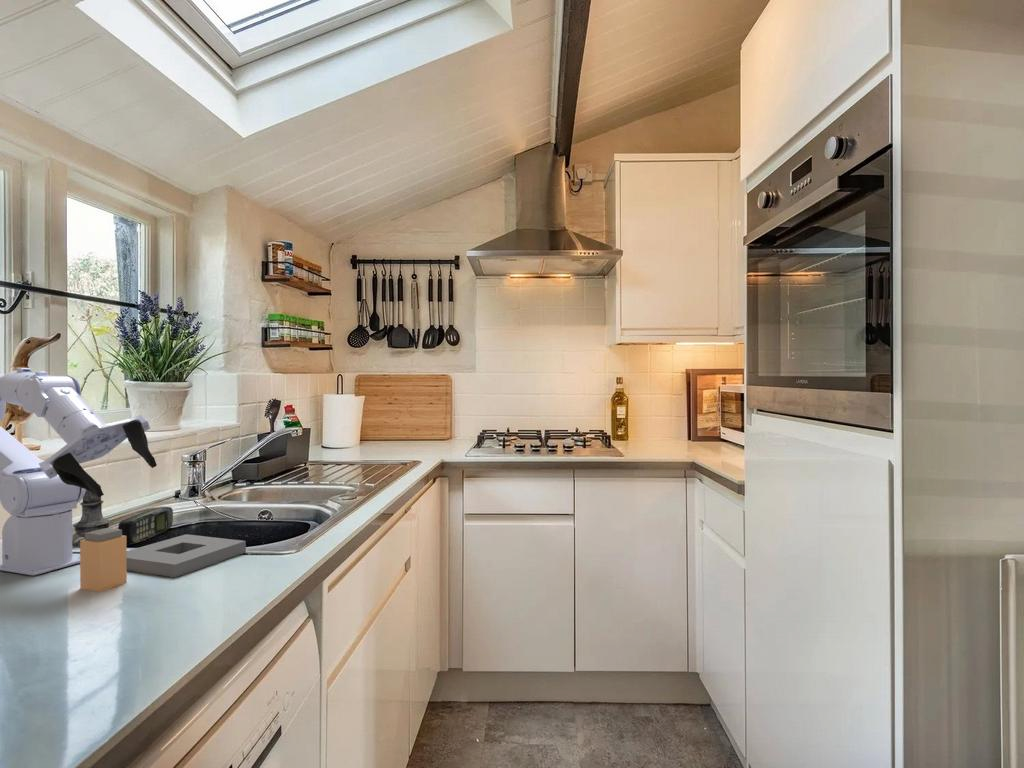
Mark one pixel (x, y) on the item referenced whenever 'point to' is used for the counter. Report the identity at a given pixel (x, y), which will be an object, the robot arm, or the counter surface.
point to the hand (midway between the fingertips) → (127, 477)
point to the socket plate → (182, 554)
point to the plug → (103, 559)
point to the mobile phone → (146, 524)
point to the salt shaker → (90, 516)
